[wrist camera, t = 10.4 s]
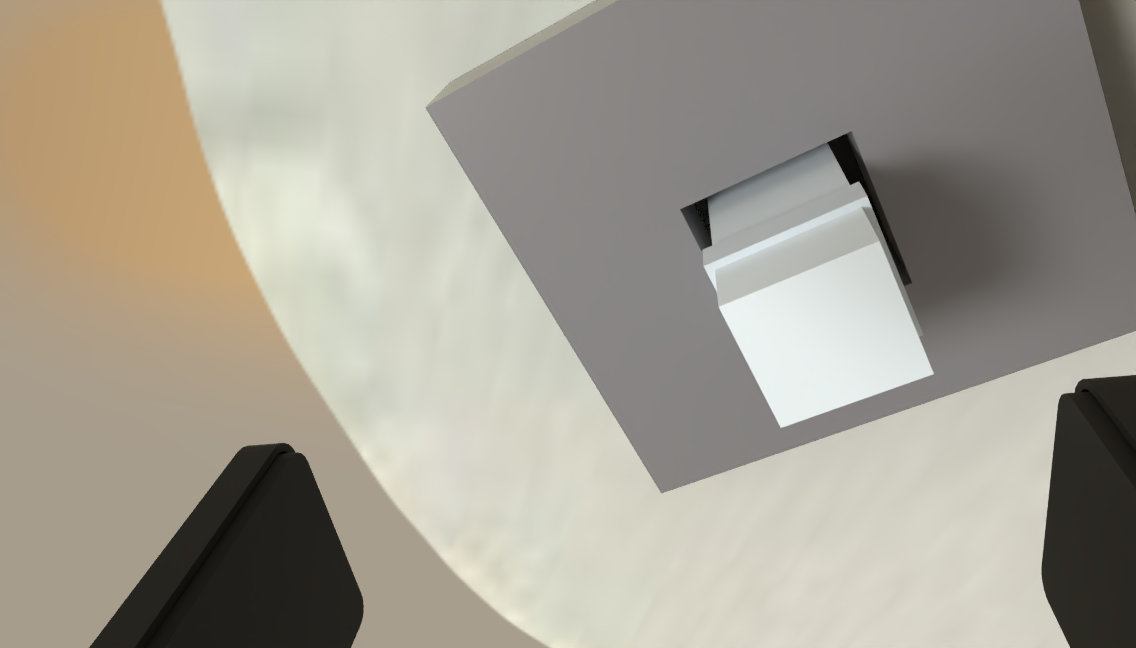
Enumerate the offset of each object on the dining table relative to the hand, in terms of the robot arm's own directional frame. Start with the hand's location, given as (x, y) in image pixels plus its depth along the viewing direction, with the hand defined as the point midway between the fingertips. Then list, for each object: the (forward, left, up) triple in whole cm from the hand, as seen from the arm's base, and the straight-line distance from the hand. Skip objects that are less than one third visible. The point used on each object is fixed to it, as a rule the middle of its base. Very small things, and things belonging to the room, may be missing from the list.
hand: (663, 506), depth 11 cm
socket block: (-5, -2, -23) cm, 23 cm away
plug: (-6, -2, -23) cm, 24 cm away
